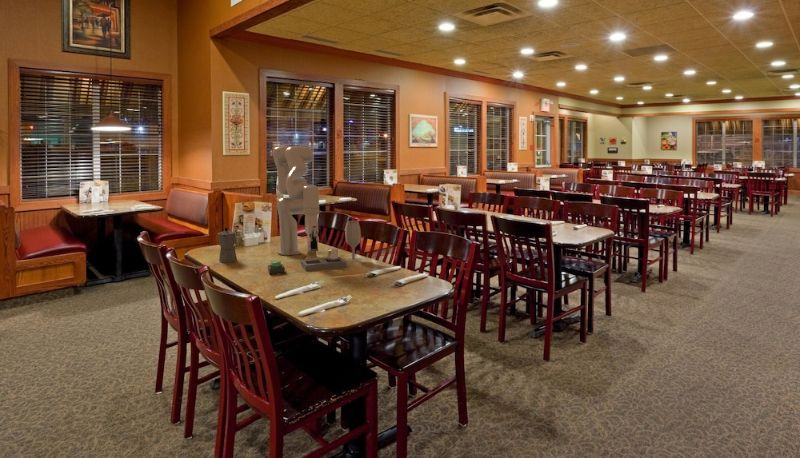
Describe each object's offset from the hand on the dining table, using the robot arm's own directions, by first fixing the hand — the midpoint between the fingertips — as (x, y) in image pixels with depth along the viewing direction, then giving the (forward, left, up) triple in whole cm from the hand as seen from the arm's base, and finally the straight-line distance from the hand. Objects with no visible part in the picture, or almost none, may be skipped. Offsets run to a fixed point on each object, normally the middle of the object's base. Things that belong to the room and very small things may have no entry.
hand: (312, 247), depth 247 cm
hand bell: (-18, +3, -11) cm, 22 cm away
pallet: (0, +5, -11) cm, 12 cm away
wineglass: (-8, +23, -11) cm, 27 cm away
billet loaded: (0, +10, -10) cm, 14 cm away
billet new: (0, 0, -2) cm, 2 cm away
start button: (0, -18, -8) cm, 20 cm away
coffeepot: (-36, -38, -11) cm, 54 cm away
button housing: (0, -18, -11) cm, 21 cm away
